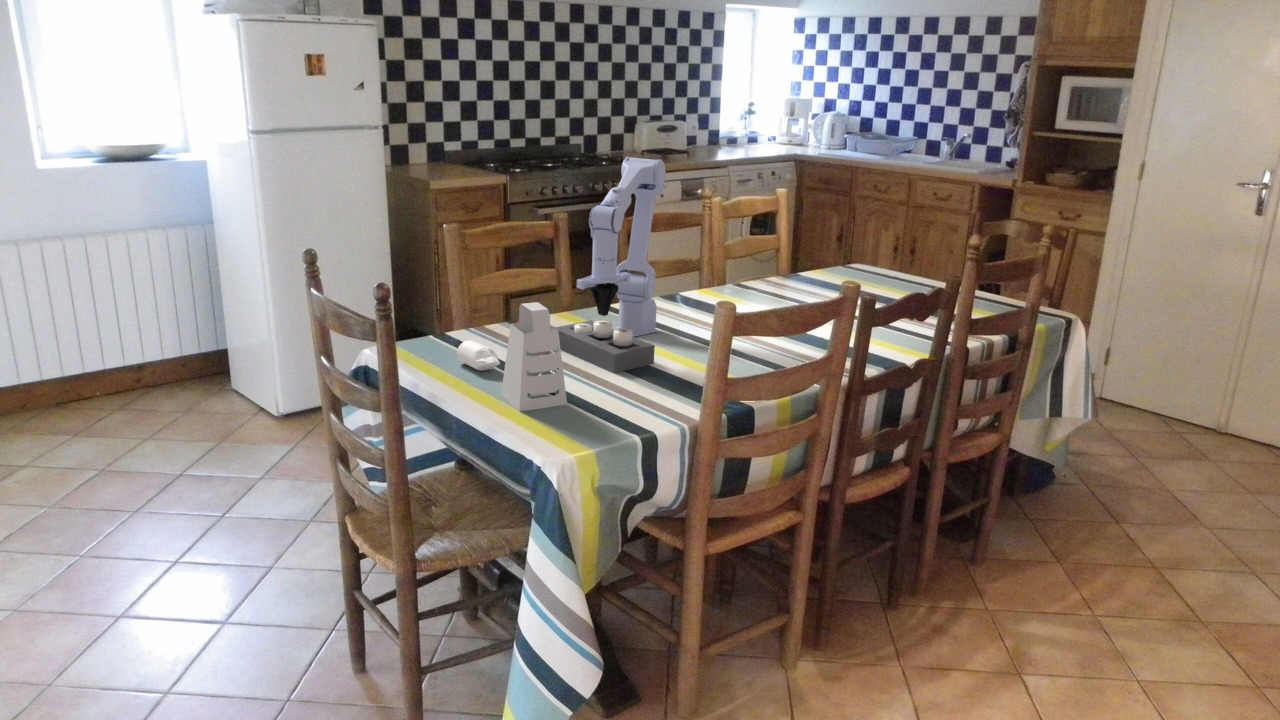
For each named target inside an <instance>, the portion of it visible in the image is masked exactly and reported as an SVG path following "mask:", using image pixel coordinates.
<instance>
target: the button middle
mask: <svg viewBox="0 0 1280 720" xmlns="http://www.w3.org/2000/svg"><path fill="white" fill-rule="evenodd" d="M612 328H613V322H611V321H608V320H595V321H594V323H593V336H595V337H598V338H609V337H611V336H612Z"/></svg>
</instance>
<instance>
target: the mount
mask: <svg viewBox="0 0 1280 720" xmlns="http://www.w3.org/2000/svg"><path fill="white" fill-rule="evenodd" d="M594 322H595V321H594V320H591V319H590V320H586V321H582V322H575V323H571V324H565V325H562V326H556V327H555V326H554V327H555V328H556V329H558V332H559V340H560V349H561V351H563V352H565V353H567V354H570V355H572V356H575V357H576V358H579V359H581V360H584V361H586V362H588V363H590V364H592V365H595V366H596V367H599V368H602V369H603V370H606V371H608V372H610V373H612V374H616V373H617V374H618V373H620V372H624V371H629V370H632V369H637V368H641V367H645V366H649V365H650V366H651V365H654V364H655V347H656V346H655V344H653V343H649V342H647V341H644V340H642V339H640V338H637V337H636V336H635V337H632V345H630V346H617V345H614V344H613V332H614V329H612V336H611V337H609V338H598V337H595V336H593V323H594ZM581 323H584V324H590V325H592V331H589V332H585V333H579V332H577V331H574V325H576V324H581Z"/></svg>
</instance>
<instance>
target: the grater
mask: <svg viewBox="0 0 1280 720" xmlns="http://www.w3.org/2000/svg"><path fill="white" fill-rule="evenodd" d="M518 309H519V310H518V315H519V318H518V319H519V323H516V322H515V323H514V322H513V323H510V326H509V334H508V335H509V336H508V341H507V349H506V357H505V363H504V371H503V378H502V384H501V391H500V393H501V396H502V397H503V398H504V399H505V400H506V401H508V402H509V403H510V404H511V405H512V406H513V407H514V408H515V409H516V410H517V411H518V412H526V411H532V410H537V409H539V410H540V409H546V408H553V407H560V406H566V405H568V399H567V391H566V384H565V376H564V366H563V358H562V350H561V349H560V340H559V332H558V329H556V328H555V326H553V325H552V324H551V315H550V311H549V308H547V307H546V306H544V305H542V304H541V303H540V302H538V301H537V302H527V303H525V302H524V303H521V304H520V305H519V308H518ZM551 393H552V394H554V395H549V396H542V397H541V396H540V397H536V398H531V397H528V396H529V395H531V396H537V395H544V394H551ZM528 394H529V395H528Z"/></svg>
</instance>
